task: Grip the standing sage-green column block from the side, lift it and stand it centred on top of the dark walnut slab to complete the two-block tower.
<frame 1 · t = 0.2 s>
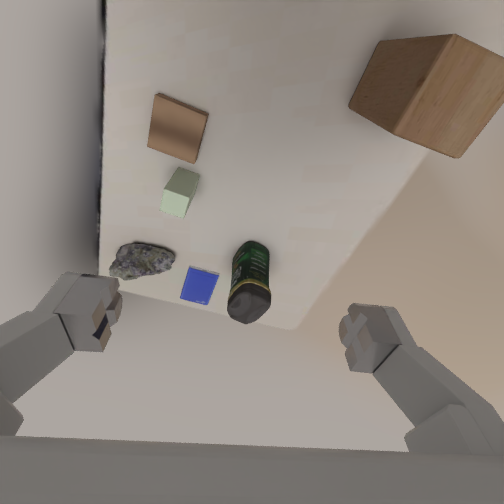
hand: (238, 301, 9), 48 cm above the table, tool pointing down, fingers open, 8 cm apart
coffee jar: (250, 255, 68), on the table
mineral rock: (147, 254, 69), on the table
slab: (179, 128, 51), on the table
column: (187, 180, 57), on the table
wooden block: (386, 86, 46), on the table
hard drive: (199, 283, 75), on the table
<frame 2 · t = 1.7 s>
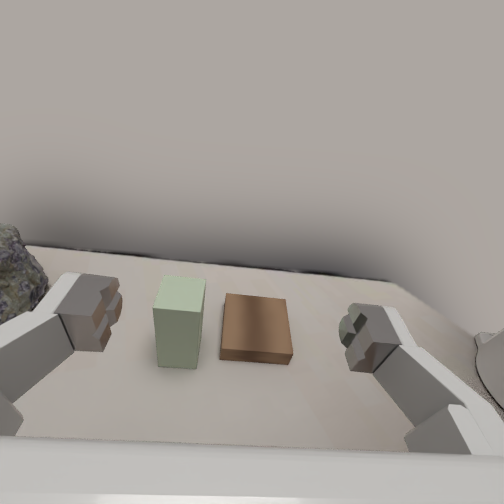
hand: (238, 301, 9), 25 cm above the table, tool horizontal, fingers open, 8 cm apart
mineral rock: (9, 303, 35), on the table
slab: (253, 334, 38), on the table
column: (181, 350, 34), on the table
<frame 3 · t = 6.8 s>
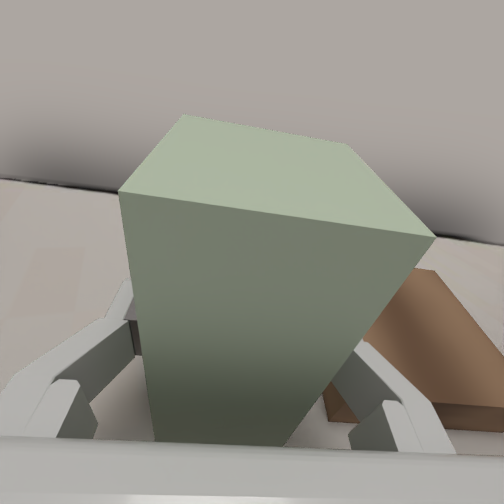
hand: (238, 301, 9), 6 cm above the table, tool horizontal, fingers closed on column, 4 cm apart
slab: (379, 346, 16), on the table
column: (220, 397, 12), on the table, touching gripper
when the fingers open (10 cm above the table, at t = 11.3 s): column drops 2 cm, resting on slab.
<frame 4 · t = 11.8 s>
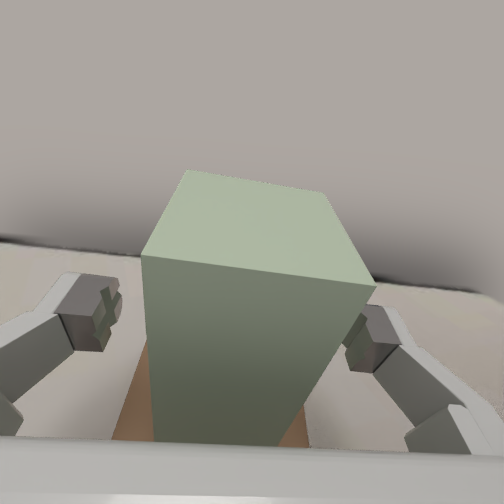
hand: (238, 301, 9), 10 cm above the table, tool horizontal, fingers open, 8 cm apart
slab: (212, 434, 15), on the table, touching column
column: (215, 411, 13), point 3 cm above the table, touching slab
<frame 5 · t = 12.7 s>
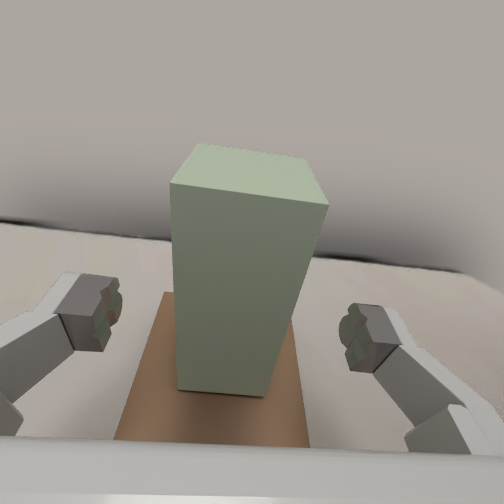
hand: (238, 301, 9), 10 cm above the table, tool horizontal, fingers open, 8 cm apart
slab: (218, 381, 17), on the table
column: (225, 354, 16), point 3 cm above the table
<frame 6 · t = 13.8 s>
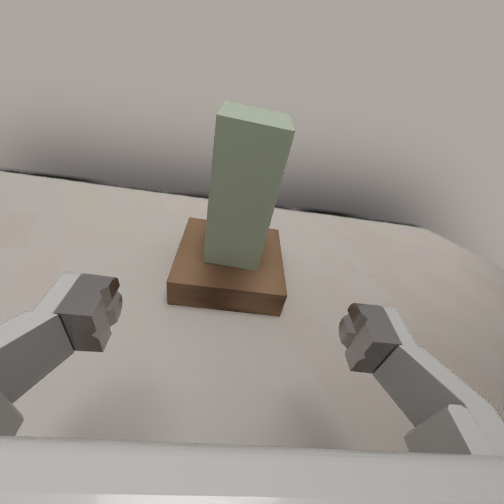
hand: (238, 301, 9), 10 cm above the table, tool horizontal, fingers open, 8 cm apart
slab: (228, 276, 25), on the table, touching column
column: (232, 249, 24), point 2 cm above the table, touching slab
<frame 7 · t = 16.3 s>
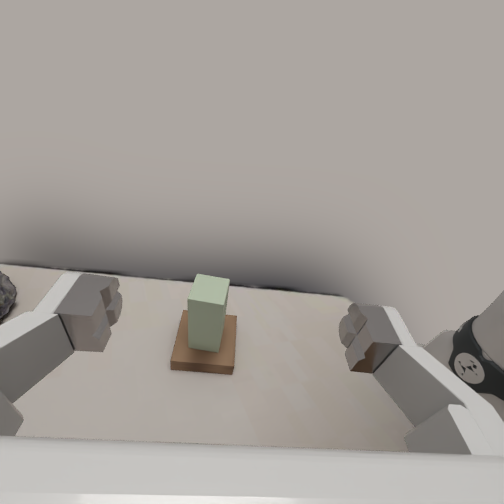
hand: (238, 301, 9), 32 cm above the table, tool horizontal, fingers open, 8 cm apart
slab: (205, 346, 43), on the table
column: (206, 337, 41), point 3 cm above the table
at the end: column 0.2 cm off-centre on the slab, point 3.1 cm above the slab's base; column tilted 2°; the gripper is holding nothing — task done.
